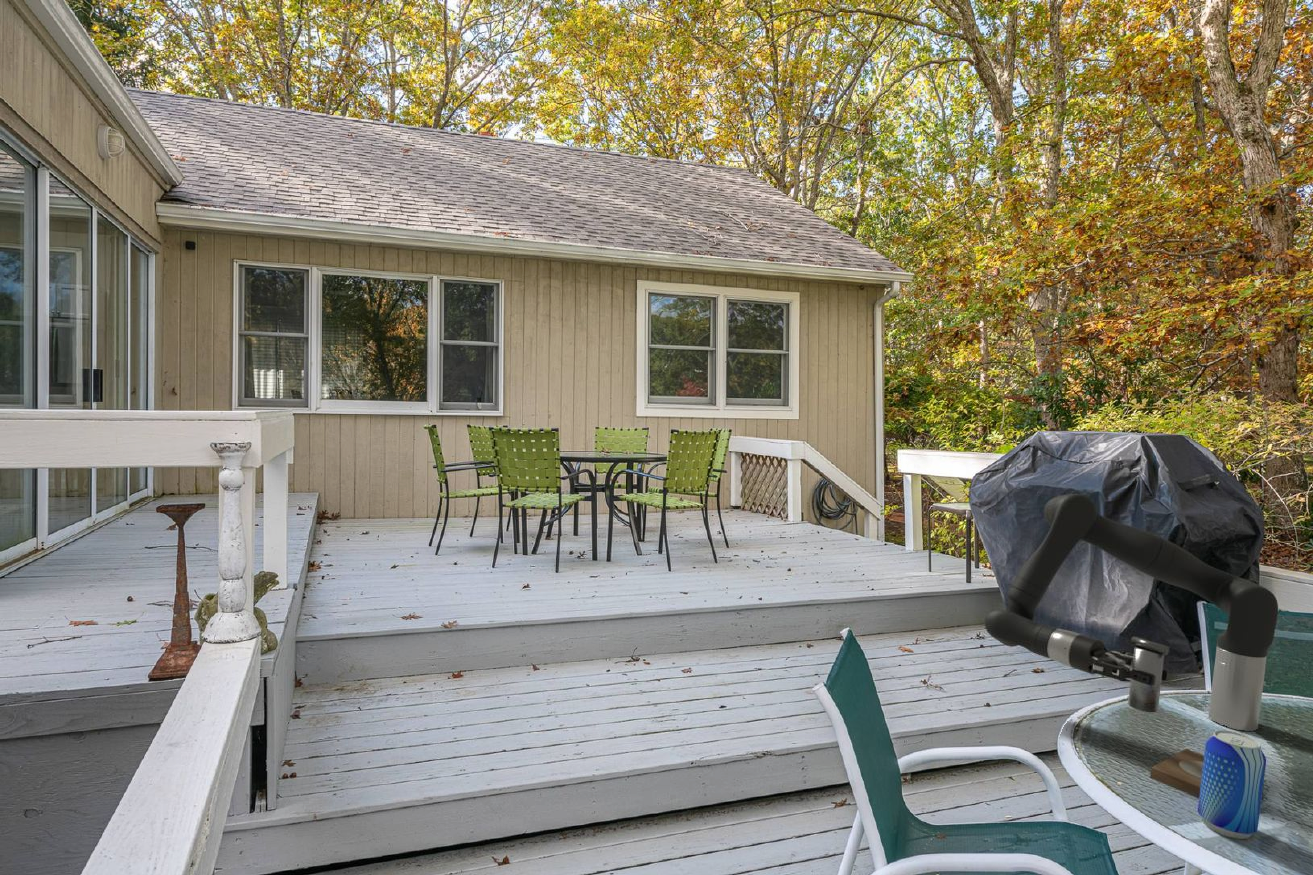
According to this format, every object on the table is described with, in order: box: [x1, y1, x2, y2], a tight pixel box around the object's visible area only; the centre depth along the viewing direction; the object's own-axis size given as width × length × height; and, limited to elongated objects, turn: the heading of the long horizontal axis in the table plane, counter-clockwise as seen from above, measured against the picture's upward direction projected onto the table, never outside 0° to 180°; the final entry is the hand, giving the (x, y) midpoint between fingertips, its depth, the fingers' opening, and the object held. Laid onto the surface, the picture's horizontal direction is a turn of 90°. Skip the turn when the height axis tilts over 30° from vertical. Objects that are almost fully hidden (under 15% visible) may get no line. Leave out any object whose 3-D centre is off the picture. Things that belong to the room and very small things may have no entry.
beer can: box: [1197, 729, 1267, 840], centre depth 133 cm, size 8×8×16 cm
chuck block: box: [1149, 748, 1204, 799], centre depth 150 cm, size 16×12×2 cm
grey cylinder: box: [1127, 636, 1170, 713], centre depth 157 cm, size 5×6×14 cm
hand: (1160, 677), depth 155 cm, fingers closed on grey cylinder, 5 cm apart
